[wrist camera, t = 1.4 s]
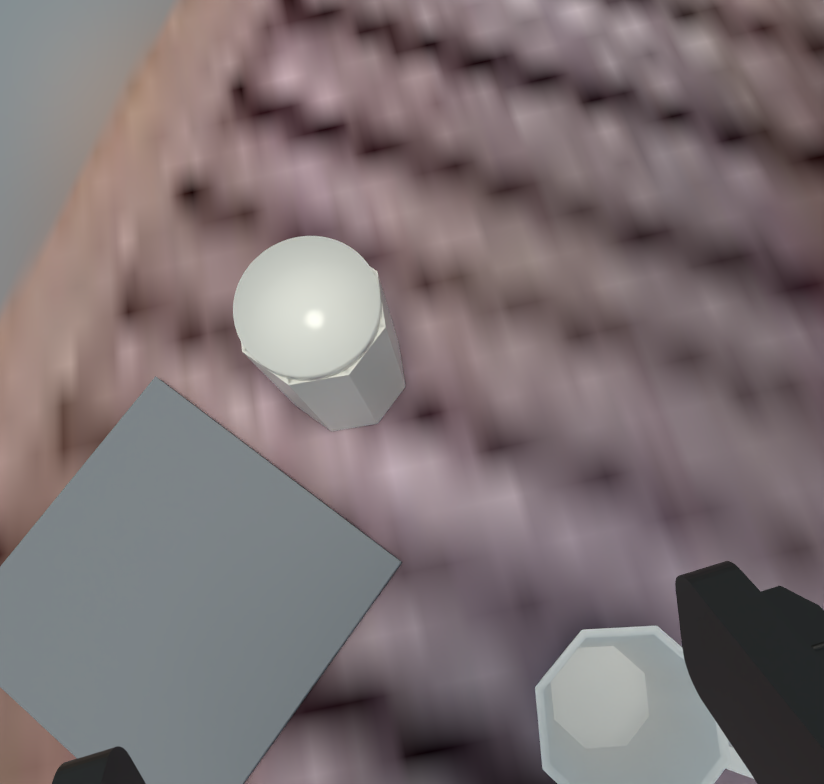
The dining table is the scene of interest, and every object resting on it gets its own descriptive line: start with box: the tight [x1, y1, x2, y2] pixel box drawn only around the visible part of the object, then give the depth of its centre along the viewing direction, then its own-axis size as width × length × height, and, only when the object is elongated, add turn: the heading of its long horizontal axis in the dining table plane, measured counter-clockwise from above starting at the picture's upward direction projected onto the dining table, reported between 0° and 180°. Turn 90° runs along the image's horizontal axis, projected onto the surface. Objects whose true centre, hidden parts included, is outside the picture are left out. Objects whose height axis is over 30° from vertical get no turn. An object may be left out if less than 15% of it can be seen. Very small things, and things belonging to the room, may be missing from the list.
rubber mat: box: [0, 377, 402, 784], centre depth 36 cm, size 16×16×1 cm
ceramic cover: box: [233, 236, 406, 432], centre depth 34 cm, size 6×6×10 cm
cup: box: [535, 626, 754, 784], centre depth 30 cm, size 7×10×8 cm
